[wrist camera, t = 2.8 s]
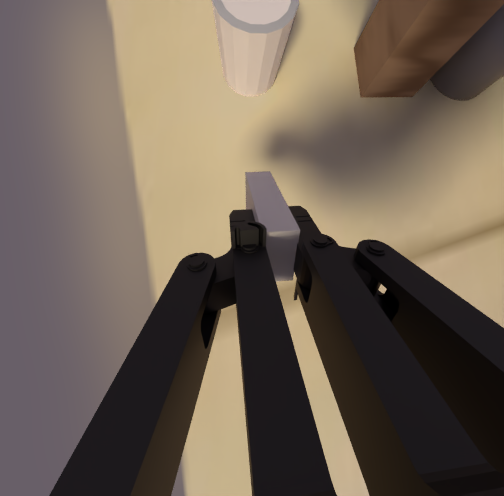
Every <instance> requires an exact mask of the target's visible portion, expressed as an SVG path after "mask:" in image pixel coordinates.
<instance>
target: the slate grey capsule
mask: <svg viewBox="0 0 504 496" xmlns="http://www.w3.org/2000/svg"><path fill="white" fill-rule="evenodd" d="M502 76H504V4H503V5H502V6H501V7H500V8H499V9H498V10H497V11H496V12H495V14H494V15H493V16H492V17H491V18H490V19H489V20H488V21H487V22H486V23H485V24H484V25H483V26H482V27H481V28H480V29H479V30H478V31H477V32H476V33H475V34H474V35H473V36H472V37H471V38H470V39H469V40H468V41H467V42H466V43H465V44H464V45H463V46H462V47H461V48H460V49H459V50H458V51H457V52H456V53H455V54H454V55H453V56H452V57H451V58H450V59H449V60H448V61H447V62H446V63H445V64H444V65H443V66H442V67H441V68H440V69H439V70H438V71H437V72H436V73H435V74H434V75H433V76H432V77H431V78H430V79H431V81H432V83H433V84H434V86H435V87H436V88H437V89H438V90H439V91H440V92H441V93H442V94H444V95H445V96H447V97H449V98H452V99H455V100H469V99H472V98H474V97H476V96H477V95H478V94H480V93H481V92H482V91H484V90H485V89H486V88H488V87H489V86H490V85H492V84H493V83H494V82H496V81H497V80H498V79H500V78H501V77H502Z"/></svg>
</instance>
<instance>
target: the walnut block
mask: <svg viewBox="0 0 504 496" xmlns="http://www.w3.org/2000/svg"><path fill="white" fill-rule="evenodd" d="M503 4H504V0H379V2H378V4H377V5H376V7H375V9H374V11H373V13H372V15H371V17H370V19H369V21H368V23H367V25H366V26H365V28H364V30H363V32H362V34H361V36H360V38H359V40H358V42H357V44H356V46H355V47H354V53H355V60H356V67H357V74H358V81H359V88H360V95H361V97H413V96H414V95H415V94H416V92H417V91H418V90H419V89H420V88H421V87H422V86H423V85H424V84H425V83H426V82H427V81H428V80H429V79H430V78H431V77H432V76H433V75H434V74H435V73H436V72H437V71H438V70H439V69H440V68H441V67H442V66H443V65H444V64H445V63H446V62H447V61H448V60H449V59H450V58H451V57H452V56H453V55H454V54H455V53H456V52H457V51H458V50H459V49H460V48H461V47H462V46H463V45H464V44H465V43H466V42H467V41H468V40H469V39H470V38H471V37H472V36H473V35H474V34H475V33H476V32H477V31H478V30H479V29H480V28H481V27H482V26H483V25H484V24H485V23H486V22H487V21H488V20H489V19H490V18H491V17H492V16H493V15H494V14H495V12H496V11H497V10H498V9H499V8H500V7H501V6H502V5H503Z"/></svg>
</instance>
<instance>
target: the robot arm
mask: <svg viewBox="0 0 504 496" xmlns="http://www.w3.org/2000/svg"><path fill="white" fill-rule="evenodd" d="M245 175H246V210H233V211H232V212H231V214H230V215H229V217H230V232H231V245H232V247H231V249H230V251H229V252H228V253H226V254H225V255H223V256H220V257H218V258H213V257H212V256H211V255H209V254H206V253H194V254H191V255H188V256H186V257H185V258H183V259H182V260H181V261H180V262H179V264H178V266H177V268H176V269H175V271H174V273H173V275H172V277H171V278H170V280H169V282H168V284H167V286H166V287H165V289H164V291H163V293H162V295H161V296H160V298H159V300H158V302H157V303H156V305H155V307H154V309H153V311H152V312H151V314H150V316H149V318H148V320H147V321H146V323H145V325H144V327H143V329H142V331H141V332H140V334H139V336H138V338H137V339H136V341H135V343H134V345H133V347H132V348H131V350H130V352H129V354H128V355H127V357H126V359H125V361H124V363H123V364H122V366H121V368H120V370H119V372H118V373H117V375H116V377H115V379H114V381H113V382H112V384H111V386H110V388H109V390H108V391H107V393H106V395H105V397H104V398H103V400H102V402H101V404H100V406H99V407H98V409H97V411H96V413H95V415H94V417H93V418H92V420H91V422H90V424H89V425H88V427H87V429H86V431H85V433H84V434H83V436H82V438H81V440H80V442H79V443H78V445H77V447H76V449H75V450H74V452H73V454H72V456H71V458H70V459H69V461H68V463H67V465H66V467H65V468H64V470H63V472H62V474H61V476H60V478H59V479H58V481H57V483H56V485H55V486H54V489H53V490H52V492H51V494H50V496H171V493H172V490H173V486H174V483H175V479H176V475H177V472H178V468H179V464H180V461H181V457H182V453H183V449H184V446H185V442H186V438H187V435H188V431H189V427H190V424H191V420H192V416H193V413H194V409H195V405H196V402H197V398H198V394H199V391H200V387H201V383H202V380H203V376H204V372H205V369H206V365H207V361H208V358H209V354H210V350H211V347H212V343H213V339H214V336H215V332H216V328H217V325H218V321H219V317H220V314H221V309H223V308H226V307H228V306H231V305H233V304H236V308H237V320H238V332H239V344H240V356H241V367H242V379H243V391H244V403H245V415H246V427H247V439H248V451H249V463H250V474H251V486H252V496H337V495H336V492H335V490H334V487H333V484H332V481H331V477H330V474H329V470H328V467H327V463H326V460H325V456H324V452H323V449H322V445H321V442H320V438H319V434H318V431H317V427H316V424H315V420H314V417H313V413H312V409H311V406H310V402H309V399H308V395H307V392H306V388H305V384H304V381H303V377H302V374H301V370H300V367H299V363H298V359H297V356H296V352H295V349H294V345H293V342H292V338H291V334H290V331H289V327H288V324H287V320H286V317H285V313H284V309H283V306H282V302H281V299H280V295H279V292H278V288H277V284H276V281H288V280H293V275H294V272H295V275H296V277H297V281H296V287H295V293H294V300H297V295H299V298H300V301H301V304H302V307H303V309H304V312H305V315H306V318H307V321H308V323H309V326H310V329H311V332H312V335H313V337H314V340H315V343H316V346H317V349H318V351H319V354H320V357H321V360H322V363H323V365H324V368H325V371H326V374H327V377H328V379H329V382H330V385H331V388H332V391H333V393H334V396H335V399H336V402H337V405H338V407H339V410H340V413H341V416H342V419H343V422H344V424H345V427H346V430H347V433H348V436H349V438H350V441H351V444H352V447H353V450H354V452H355V455H356V458H357V461H358V464H359V466H360V469H361V472H362V475H363V478H364V480H365V483H366V486H367V489H368V492H369V495H370V496H504V328H503V327H501V326H500V325H499V324H497V323H496V322H494V321H493V320H492V319H490V318H489V317H487V316H486V315H485V314H483V313H482V312H480V311H479V310H478V309H476V308H475V307H474V306H472V305H471V304H469V303H468V302H467V301H465V300H464V299H462V298H461V297H460V296H458V295H457V294H455V293H454V292H453V291H451V290H450V289H448V288H447V287H446V286H444V285H443V284H441V283H440V282H439V281H437V280H436V279H434V278H433V277H432V276H430V275H429V274H428V273H426V272H425V271H423V270H422V269H421V268H419V267H418V266H416V265H415V264H414V263H412V262H411V261H409V260H408V259H407V258H405V257H404V256H402V255H401V254H400V253H398V252H397V251H395V250H394V249H393V248H391V247H390V246H388V245H387V244H385V243H383V242H380V241H377V240H363V241H361V242H359V244H358V245H357V248H356V249H355V248H347V247H341V246H338V244H337V243H336V241H335V240H334V239H333V238H331V237H329V236H327V235H324V234H321V232H320V231H319V229H318V228H317V226H316V224H315V223H314V221H313V220H312V218H311V217H310V215H309V213H308V212H307V210H305V209H304V208H302V207H301V206H288V205H287V203H286V201H285V200H284V198H283V196H282V194H281V192H280V190H279V188H278V186H277V184H276V182H275V180H274V178H273V176H272V174H271V173H270V171H267V172H245ZM381 284H382V285H383V286H384V287H385V288H387V290H386V292H385V294H383V293H381V292H380V291H379V290H378V289H379V287H380V285H381Z"/></svg>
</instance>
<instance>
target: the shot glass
mask: <svg viewBox="0 0 504 496" xmlns="http://www.w3.org/2000/svg"><path fill="white" fill-rule="evenodd" d="M212 5H213V12H214V18H215V24H216V31H217V37H218V44H219V50H220V56H221V63H222V69H223V76H224V79H225V80H226V82H227V84H228V86H229V87H230V88H231V89H232V90H234V91H235V92H236V93H238V94H241V95H244V96H259V95H261V94H264V93H266V92H267V91H268V90H269V89H270V88H271V87H272V86H273V83H274V80H275V78H276V75H277V71H278V68H279V65H280V62H281V59H282V56H283V53H284V49H285V46H286V43H287V40H288V37H289V34H290V31H291V28H292V24H293V21H294V18H295V15H296V12H297V9H298V6H299V0H212Z"/></svg>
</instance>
